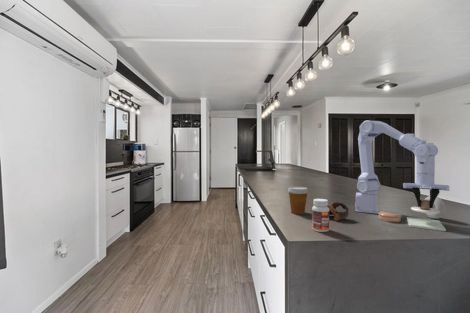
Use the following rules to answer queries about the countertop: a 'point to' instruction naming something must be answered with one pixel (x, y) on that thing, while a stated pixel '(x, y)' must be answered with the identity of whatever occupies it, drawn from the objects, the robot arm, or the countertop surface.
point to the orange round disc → (389, 216)
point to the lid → (425, 207)
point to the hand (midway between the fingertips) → (424, 207)
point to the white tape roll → (439, 206)
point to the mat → (425, 224)
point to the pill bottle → (320, 215)
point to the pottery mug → (334, 212)
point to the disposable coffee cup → (298, 199)
